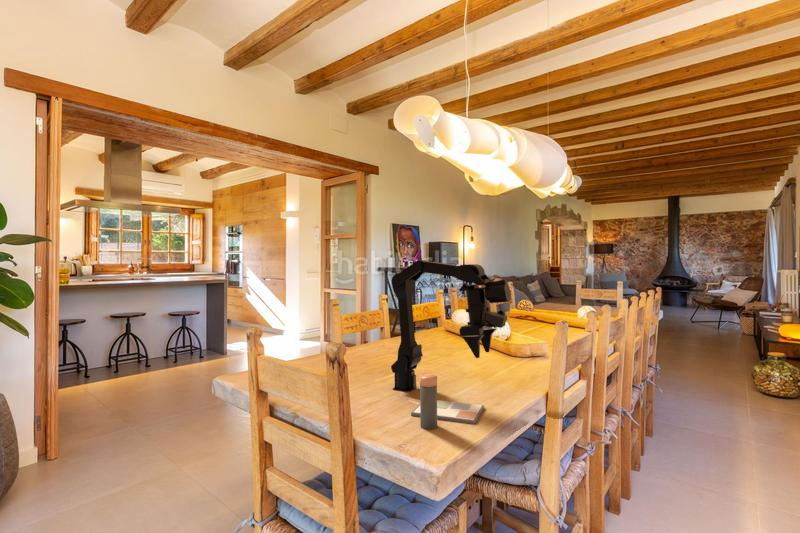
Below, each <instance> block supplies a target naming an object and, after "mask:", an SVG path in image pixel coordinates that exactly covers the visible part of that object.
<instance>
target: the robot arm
mask: <svg viewBox="0 0 800 533" xmlns="http://www.w3.org/2000/svg"><path fill="white" fill-rule="evenodd" d="M424 273H427V274H433V275H440V276H447V277H451V278H454V279H457V280H459V281H461V282H464V283H462V286H461V287H460V288H459V290H458V291H459V292H465V293H466V294H465V295H466V302H467V304H466V305H467V308H465V312H466V313H467V314H468V319H469V320H468V322H467V324H465V325H463V326H461V327H460V328H459V336H460V337H461V338H462V339H463V340H464V341H465V343H466V344H467V346H468V348H469V349H470V351H471V352H472V354H473V356H474V358H475V359H479V358H480V357H481V355H480V354H481V345H482V347H483V350H484V351H485V352H484V353H490V350H491V342H492V336H493V334H494V333H495V332H496V330H497V329H498V328H499V329H500V328H501V329H502V328H503V327H506V322H507V321H508V315H506V311H505V310H502V309H499V310H498V311H497V312H496V311H491V307H489V306H488V305H487V302H489V303H490V304H499V303H509V302H511V299H512V293H511V291H512V290H511V289H510V286H509V284H508V281H507V280H508V279H499V280H495V281H493V280H491V278H490V277H489V276H488V275H487V274H486V272H485V269H484V267H483V266H482V265H480V264H477V263H475V264H471V263H470V264H459V265H458V264H450V263H444V262H443V263H442V262H435V261H428V260H425V259H417V260H415V261H414V262H413V263H411V264H410V265H409V266H407V267H405V268H404V269H402V270H401V271H400V272H397V273H396V272H395V274H393V276H392V277H391V286H392V291H393V293H394V295H395V297H396V298H397V302H398V303H397V304H398V305H397V306H398V316H399V317H398V318H399V319H398V320H399V334H400V344H399V347H398V349H397V357H396V358H397V360H395V361H394V363H392V364H391V366H390V369H391V372H392V373H393V374H394V387H393V388H392V390H393V391H401V392H409V393H410V392H413V390H414V389H415V388H417V375H416V374H415V373H416V372H415V370H416V369H417V367H418V364H419V363H420V362H421V361H422V357H423V352H422V347H423V346H422V344H418V343H417V341H416V335H415V323H414V311H413V310H414V308H413V295H414V292H415V290H416V282H417V281H418V280H419V279H420V278H421V277H422V275H423V274H424ZM480 286H482V287H480ZM497 331H498V330H497Z"/></svg>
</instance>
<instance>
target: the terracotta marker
mask: <svg viewBox="0 0 800 533" xmlns="http://www.w3.org/2000/svg"><path fill="white" fill-rule="evenodd" d="M437 400H438V376H437V375H436V374H431V373H430V374H427V373H426V374H421V375H419V402H420V403H419V405H420V417H419V418H420V421H419V422H420V428H421V429H423V430H427V431H431V430H435V429H438V419H437Z"/></svg>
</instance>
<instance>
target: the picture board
mask: <svg viewBox="0 0 800 533" xmlns="http://www.w3.org/2000/svg"><path fill="white" fill-rule="evenodd" d="M484 409H485V405H484V404H478V403H477V404H475V403H469V402H467V403H466V402H458V401H451V400H450V401H449V400H441V399H437V420H442V421H448V422H457V423H465V424H471V425H476V423H477V421H478V420H479V418H480V416H481V414H482V413H483V411H484ZM410 416H412V417H418V418H420V404H418V406H416V407H415V408H414V409H413V411H412V412H410Z"/></svg>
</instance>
